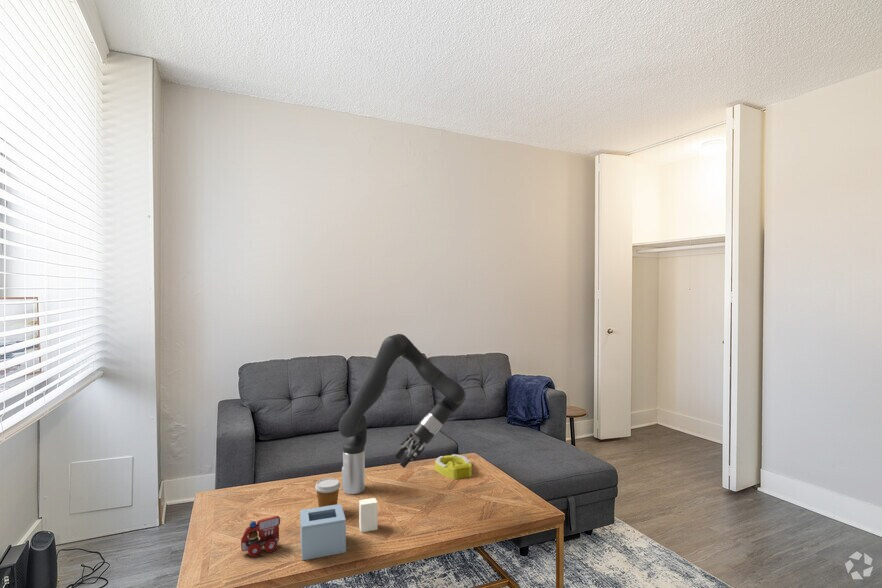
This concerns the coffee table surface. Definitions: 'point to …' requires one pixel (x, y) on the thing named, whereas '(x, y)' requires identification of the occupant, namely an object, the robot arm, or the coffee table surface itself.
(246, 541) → the toy fire truck
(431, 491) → the coffee table surface
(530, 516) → the coffee table surface
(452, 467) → the yellow low hollow piece
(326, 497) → the disposable coffee cup
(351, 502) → the coffee table surface
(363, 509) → the block
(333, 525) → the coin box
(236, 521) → the coffee table surface
